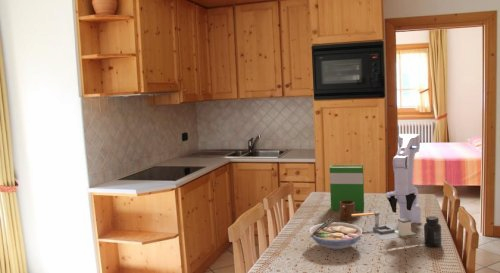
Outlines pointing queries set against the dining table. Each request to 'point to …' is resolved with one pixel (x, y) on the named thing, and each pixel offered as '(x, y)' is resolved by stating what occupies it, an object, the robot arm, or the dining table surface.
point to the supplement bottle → (432, 232)
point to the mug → (347, 210)
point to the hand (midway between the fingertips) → (401, 211)
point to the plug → (404, 225)
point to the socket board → (385, 230)
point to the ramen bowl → (335, 234)
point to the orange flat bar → (365, 214)
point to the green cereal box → (347, 185)
